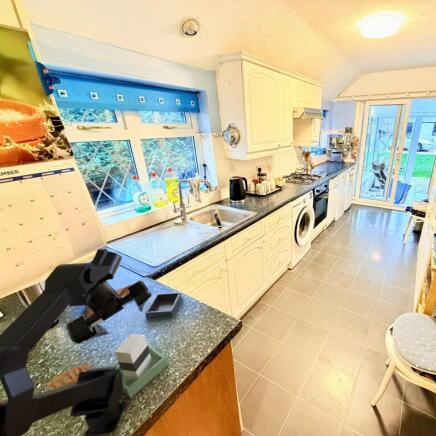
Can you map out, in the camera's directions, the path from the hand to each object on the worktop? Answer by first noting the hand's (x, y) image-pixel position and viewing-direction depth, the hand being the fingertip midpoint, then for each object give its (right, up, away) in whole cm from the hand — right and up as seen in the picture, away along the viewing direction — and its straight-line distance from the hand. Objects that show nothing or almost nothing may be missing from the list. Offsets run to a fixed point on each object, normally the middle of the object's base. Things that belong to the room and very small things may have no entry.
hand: (125, 321), depth 70 cm
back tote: (-2, -7, +27) cm, 28 cm away
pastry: (-15, -18, -2) cm, 23 cm away
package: (+4, -16, +1) cm, 17 cm away
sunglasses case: (-26, -5, +30) cm, 40 cm away
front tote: (+4, -16, +2) cm, 17 cm away
